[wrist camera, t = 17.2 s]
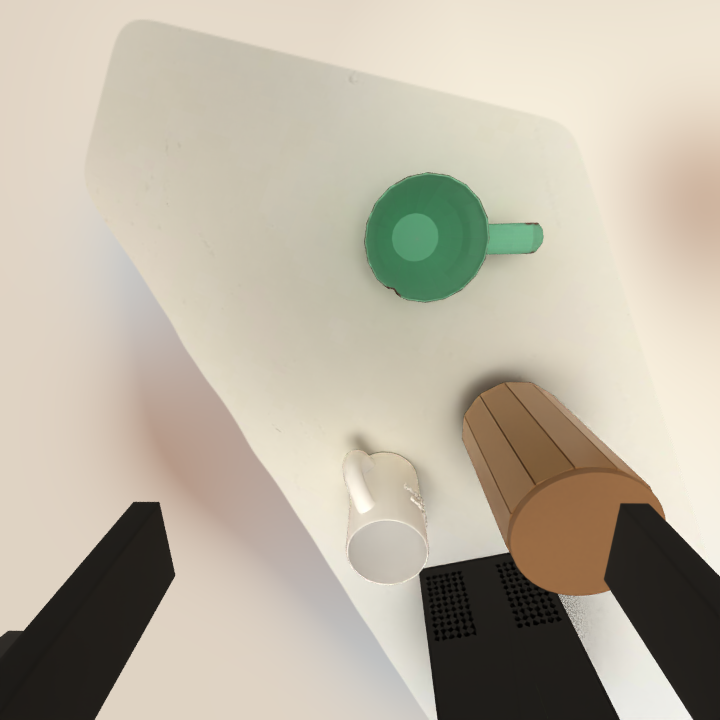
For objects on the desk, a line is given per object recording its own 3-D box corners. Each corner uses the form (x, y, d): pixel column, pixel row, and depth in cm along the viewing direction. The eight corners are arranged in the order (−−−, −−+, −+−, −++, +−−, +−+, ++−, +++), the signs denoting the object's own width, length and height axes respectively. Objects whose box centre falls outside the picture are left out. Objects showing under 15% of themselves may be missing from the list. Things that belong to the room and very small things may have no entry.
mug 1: (381, 413, 48) (383, 471, 36) (430, 489, 51) (446, 564, 39) (322, 445, 49) (306, 510, 38) (373, 516, 52) (373, 597, 41)
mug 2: (367, 287, 43) (365, 304, 34) (365, 187, 40) (362, 174, 31) (508, 283, 43) (546, 299, 33) (516, 181, 40) (560, 167, 30)
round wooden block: (466, 381, 41) (519, 471, 26) (568, 382, 41) (682, 473, 26) (459, 469, 45) (502, 594, 29) (554, 470, 44) (648, 598, 29)
